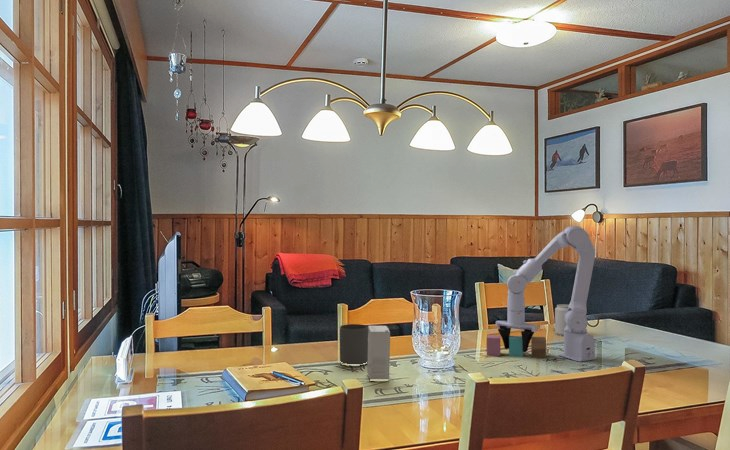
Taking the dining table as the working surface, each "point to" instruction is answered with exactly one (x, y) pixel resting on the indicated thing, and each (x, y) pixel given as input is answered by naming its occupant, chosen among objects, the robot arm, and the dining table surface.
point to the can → (560, 318)
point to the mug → (354, 344)
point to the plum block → (493, 345)
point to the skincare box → (378, 352)
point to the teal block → (516, 346)
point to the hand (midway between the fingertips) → (516, 350)
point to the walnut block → (538, 347)
